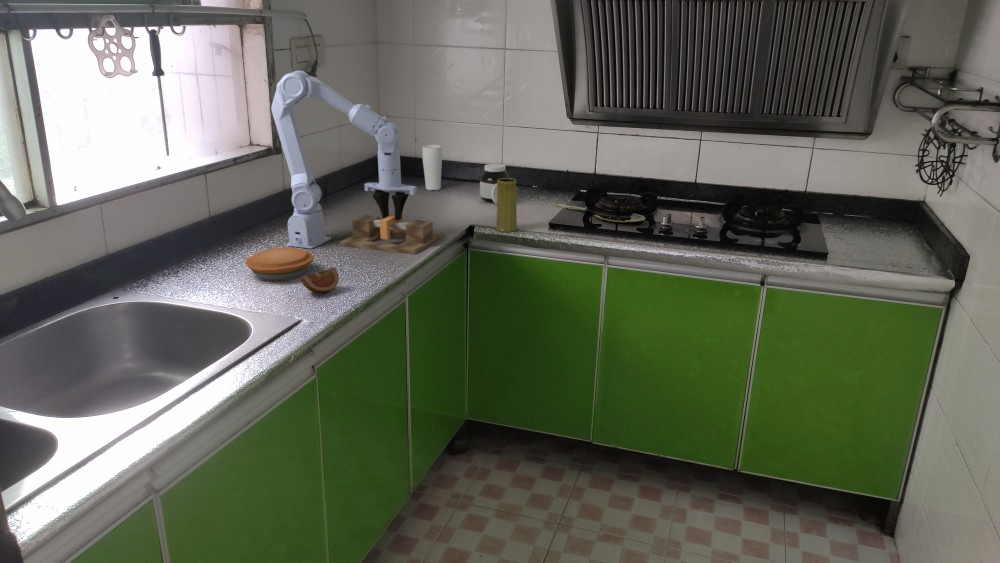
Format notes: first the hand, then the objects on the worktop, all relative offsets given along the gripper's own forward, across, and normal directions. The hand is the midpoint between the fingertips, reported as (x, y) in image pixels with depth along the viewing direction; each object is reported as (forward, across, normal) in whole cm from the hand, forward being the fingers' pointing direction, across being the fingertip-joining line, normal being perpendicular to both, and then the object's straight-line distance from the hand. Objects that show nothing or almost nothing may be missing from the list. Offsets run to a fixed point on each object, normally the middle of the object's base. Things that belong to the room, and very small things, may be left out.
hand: (392, 219), depth 198 cm
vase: (+6, -25, -21) cm, 33 cm away
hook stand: (+6, 0, 0) cm, 6 cm away
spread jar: (+6, -11, -51) cm, 53 cm away
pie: (+6, +12, +33) cm, 36 cm away
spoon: (+7, -45, -46) cm, 65 cm away
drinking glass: (+6, +17, -61) cm, 64 cm away
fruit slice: (+6, -4, +41) cm, 42 cm away
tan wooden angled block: (+4, 0, 0) cm, 4 cm away
